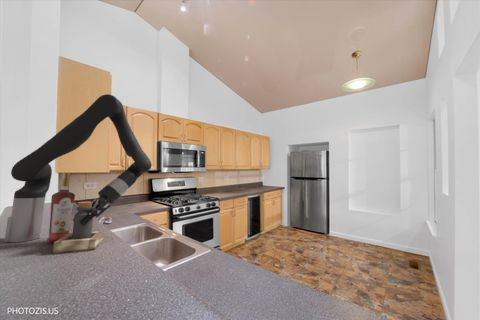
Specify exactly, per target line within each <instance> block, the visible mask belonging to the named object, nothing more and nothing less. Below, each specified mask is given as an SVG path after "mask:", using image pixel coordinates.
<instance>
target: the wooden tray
mask: <svg viewBox="0 0 480 320" xmlns="http://www.w3.org/2000/svg"><path fill="white" fill-rule="evenodd" d="M104 233H105V232H104V230H100V231H92V234H91V238H87V239H74V240H72V234H73V232H69V233H68V234H67V235H65V236H64V237H62V238H60V239H59V240H57V241H56V242H54V244H53V249H52V254H53V255H55V254H63V253H64V254H66V253H77V252H86V251H95V250H96V249H97V248H98V247H99V245H100V244H101V243H102V242H103V241H104V236H105V235H104Z"/></svg>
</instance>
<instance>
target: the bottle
mask: <svg viewBox="0 0 480 320" xmlns="http://www.w3.org/2000/svg"><path fill="white" fill-rule="evenodd" d="M92 203H93V202H89V201H78V202H77V207H76V208H75V209H76V211H77V212H76V213H74V217H73V219H74V221H73V226H72V233H73V234H72V240H74V239H87V238H91V234H92V232H93V222H94V218H92V219H91V220H90V221H89V222H88V223H87V224H85V225H84V226H83V225H81V224H80V223H79V221H80V220H82V219H83V218H84V217H85V216H86V215H87V214H88V213H89V212H90V211H91V208H92V207H93V206H92ZM88 215H89V214H88Z"/></svg>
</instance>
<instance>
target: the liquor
mask: <svg viewBox="0 0 480 320" xmlns="http://www.w3.org/2000/svg"><path fill="white" fill-rule="evenodd" d="M70 178H71V173H69V172H68V173H67V172H66V173H65V172H63V173H61V184H60V187H59V191H58V192H55V193H54V194H52V195H51V200H50V221H49V229H48V230H49V231H48V232H49V233H48V238H47V239H46V241H47V242H49V243H50V244H53V245H54V242H56V241H57V240H59V239H60V238H62V237H64V236H65V235H67V234H68V233H70V227H71V221H72V215H73V211H74V210H73V209H74V206H75V205H74V204H75V199H76V194H75V193H74V192H71V191H70V180H71V179H70Z"/></svg>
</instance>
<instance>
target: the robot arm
mask: <svg viewBox="0 0 480 320" xmlns="http://www.w3.org/2000/svg"><path fill="white" fill-rule="evenodd" d="M107 118H109V119H110V121H111V122H112V124H113V126H114V127H115V130H116V132H117V136H118V139H119V142H120V144H121V146H122V149H123V150H124V152H125V155H127V156H128V157H129V158H131V159H132V160H133V163H131V164H130V165H129V167H127V168H126V169H125V171H123V172H121V173H120V174H119V175H118V176H117V177H116V178H114V179H113V180H111V181H110V182H108V183H107V184H106V185H105V186H104V187H103V188H102V189H100V190H99V191H98V192H97V194H98V197H97V198H96V199H93V198H92V199H90V200H88V202H93V203H92V206H93V207H92V208H91V211H90V212H89V213H88V214H89V215H88V214H87V215H86V216H85V217H84V218H83V219H82V220H80V221H79V223H80V224H81V225H83V226H84V225H85V224H87V223H88V222H89V221H90V220H91V219H92V218H93V219H94V218H99V217H100V216H101V215H102V214H103V213H104V212H105V211H107V209H109V208H110V207H111V205H114V203H116V202H117V201H118V200H119V199H120V198H122V196H123V195H124V194H125V193H126V192H127V190H129V189H130V188H131V187H132V186H133V185H134V184H135V183H136V182H137V179H139V178H140V177H141V176H142V175H144V173H147V172H149V171H150V170H151V169H152V162H151V160H150V158H149V156H148V155H147V154H146V152H144V150H143V149H142V147H141V145H140V143H139V141H138V139H137V138H136V137H137V136H135V134H134V131H133V130H132V128H131V126H130V123H129V120H128V118H127V115H126V112H125V108H124V105H123V103H122V102H121V101H120V100H119V99H118V98H117V97H116V96H115V95H113V94H109V93H107V94H103V95H101V96H100V95H99V97H98V98H97V99H95V101H93V102H92V104H91V105H90V106H89V107H88V108H87V109H86V110H85V111H84V112H82V113H81V114H80V115H78V116H77V117H76V118H75V119H74V120H72V121H71V122H69V124H66V125H65V127H63V128H62V129H61V130H60V131H58V132H57V133H56V134H55V135H53V136H52V137H51V138H50V139H48V140H47V141H46V142H44V143H43V144H42V145H41V146H40V147H38V148H37V149H35V150H34V151H33V152H31V153H29V154H27V155H26V156H25V157H22V158H21V159H20V160H18V161H17V162H16V163H15V164H13V166H12V168H11V170H10V175H11V177H12V178H13V179H14V180H16V181H19V182H24V184H23V186H22V187H21V188H20V189H17V190H16V191H14V193H13V200H12V208H11V214H10V216H9V217H8V218H7V220H6V221H7V222H6V227H5V235H4V243H20V242H21V243H22V242H29V241H33V240H38V239H39V238H41V233H42V225H43V219H44V218H43V217H44V211H45V201H46V196H47V193H48V191H49V188H50V187H51V186H50V185H51V180H52V176H53V175H52V171H53V170H52V166H51V164H50V163H51V162H53V161H54V160H56V159H58V158H60V157H62V156H65V155H67V154H69V153H72V152H73V151H75V150H77V149H79V147H81V146H82V145H83V144H84V143H86V142H87V141H88V140H89V139H90V137H91V136H92V135H93V133H94V131H95V130H96V128H97V126H98V125H99V124H100V123H101V122H103V121H104V120H105V119H107ZM72 221H73V222H74V218H72Z"/></svg>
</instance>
